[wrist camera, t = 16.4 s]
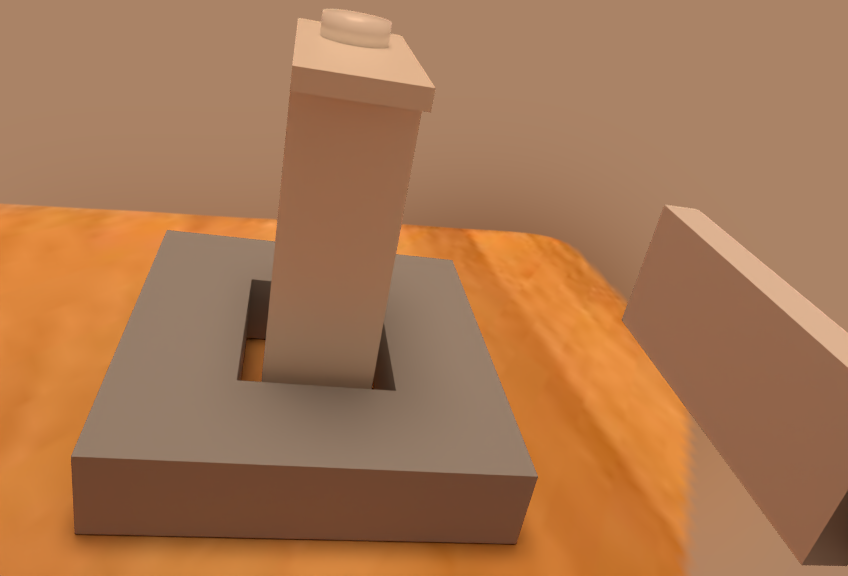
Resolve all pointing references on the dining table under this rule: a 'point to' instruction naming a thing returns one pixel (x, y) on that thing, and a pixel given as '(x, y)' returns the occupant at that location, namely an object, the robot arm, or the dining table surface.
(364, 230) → the cream block
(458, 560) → the dining table surface
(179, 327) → the frame
